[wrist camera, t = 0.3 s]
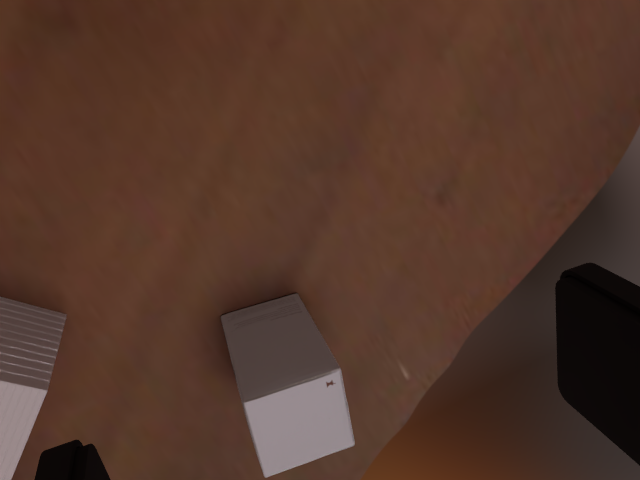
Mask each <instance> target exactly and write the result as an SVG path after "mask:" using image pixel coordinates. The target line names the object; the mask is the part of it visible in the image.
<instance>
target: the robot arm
mask: <svg viewBox="0 0 640 480" xmlns="http://www.w3.org/2000/svg"><path fill="white" fill-rule="evenodd" d="M555 289H556V329H557V330H556V331H557V371H558V387H559V390H560V393H561V394H562V396H563V398H564V399H565V400H566V401H567V402H568V403H569V404H570V405H571V406H572V407H573V408H574V409H576V410H577V411H578V412H579V413H580V414H581V415H582V416H584V417H585V418H586V419H587V420H588V421H589V422H590V423H592V424H593V425H594V426H595V427H596V428H597V429H599V430H600V431H601V432H602V433H603V434H604V435H606V436H607V437H608V438H609V439H610V440H611V441H612V442H613V443H615V444H616V445H617V446H618V447H619V448H620V449H622V450H623V451H624V452H625V453H626V454H627V455H628V456H630V457H631V458H632V459H633V460H634V461H635V462H636V463H638V464H639V465H640V287H639V286H637V285H635V284H633V283H631V282H630V281H627V280H626V279H624V278H622V277H619V276H618V275H616V274H614V273H612V272H610V271H608V270H606V269H604V268H602V267H600V266H598V265H596V264H594V263H586V264H583V265H580V266H577V267H574V268H571V269H569V270H565V271H564V272H563V273H562V275H561V277H560V280H559V281H558V282H557V283H556V288H555ZM35 480H110V478H109V476H108V473H107V471H106V469H105V467H104V465H103V463H102V461H101V458H100V456H99V454H98V452H97V450H96V448H95V446H94V445H93V444H88V445H85V446H83V445H82V443H81V442H80V441H79V440H74V441H71V442H68V443H65V444H62V445H59V446H57V447H54V448H51V449H48V450H45V451H43V452H42V454H41V456H40V459H39V464H38V468H37V472H36V476H35Z"/></svg>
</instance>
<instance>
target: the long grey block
mask: <svg viewBox="0 0 640 480" xmlns="http://www.w3.org/2000/svg"><path fill="white" fill-rule="evenodd" d="M66 316H67V314H63V313H60V312H56V311H52V310H48V309H45V308H41V307H37V306H33V305H30V304H26V303H22V302H18V301H15V300H11V299H7V298H3V297H0V480H11V479H12V476H13V474H14V471H15V469H16V467H17V464H18V462H19V459H20V457H21V454H22V452H23V449H24V447H25V444H26V442H27V440H28V437H29V435H30V432H31V430H32V427H33V425H34V422H35V420H36V417H37V415H38V413H39V410H40V408H41V405H42V403H43V400H44V398H45V395H46V393H47V390H48V386H49V382H50V379H51V374H52V371H53V366H54V363H55V358H56V355H57V351H58V348H59V343H60V340H61V336H62V331H63V328H64V324H65V320H66Z"/></svg>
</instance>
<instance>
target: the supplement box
mask: <svg viewBox="0 0 640 480" xmlns="http://www.w3.org/2000/svg"><path fill="white" fill-rule="evenodd" d="M221 322H222V326H223V330H224V334H225V338H226V342H227V346H228V350H229V354H230V358H231V362H232V366H233V370H234V374H235V378H236V382H237V386H238V390H239V393H240V397H241V401H242V405H243V409H244V413H245V416H246V420H247V424H248V427H249V431H250V434H251V437H252V441H253V444H254V447H255V450H256V454H257V457H258V460H259V463H260V466H261V469H262V472H263V475H264V477H269V476H272V475H275V474H277V473H280V472H283V471H286V470H288V469H291V468H294V467H297V466H299V465H302V464H305V463H308V462H310V461H313V460H315V459H318V458H321V457H323V456H326V455H329V454H332V453H335V452H338V451H341V450H343V449H346V448H349V447H352V446H354V444H355V442H354V436H353V431H352V426H351V421H350V415H349V409H348V403H347V400H346V395H345V389H344V384H343V378H342V372H341V368H340V367H339V365H338V363H337V361H336V360H335V358H334V356H333V354H332V353H331V351H330V349H329V347H328V346H327V344H326V342H325V340H324V339H323V337H322V335H321V333H320V332H319V330H318V328H317V326H316V325H315V323H314V321H313V319H312V318H311V316H310V314H309V312H308V311H307V309H306V307H305V305H304V304H303V302H302V300H301V298H300V297H299V295H298V293H296V294H292V295H289V296H285V297H282V298H278V299H275V300H271V301H268V302H264V303H261V304H257V305H254V306H251V307H247V308H244V309H241V310H237V311H234V312H230V313H227V314H225V315H222V316H221Z"/></svg>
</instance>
